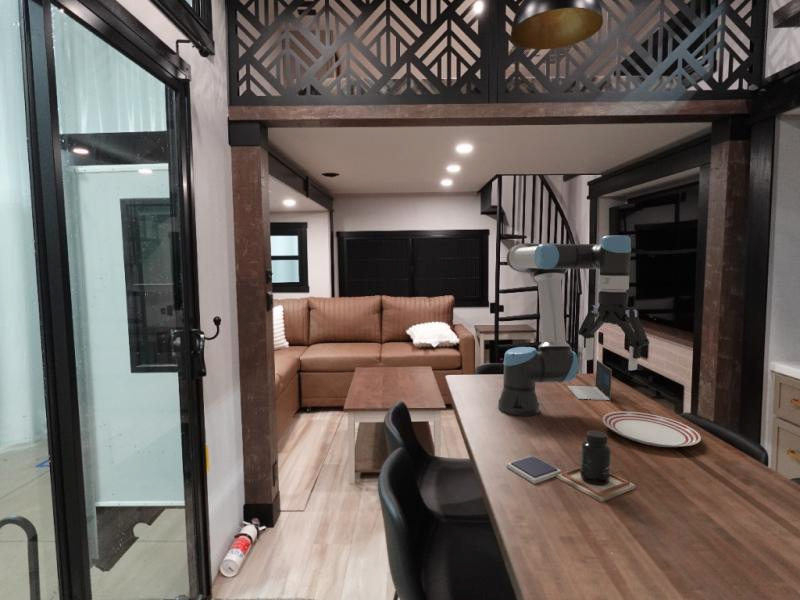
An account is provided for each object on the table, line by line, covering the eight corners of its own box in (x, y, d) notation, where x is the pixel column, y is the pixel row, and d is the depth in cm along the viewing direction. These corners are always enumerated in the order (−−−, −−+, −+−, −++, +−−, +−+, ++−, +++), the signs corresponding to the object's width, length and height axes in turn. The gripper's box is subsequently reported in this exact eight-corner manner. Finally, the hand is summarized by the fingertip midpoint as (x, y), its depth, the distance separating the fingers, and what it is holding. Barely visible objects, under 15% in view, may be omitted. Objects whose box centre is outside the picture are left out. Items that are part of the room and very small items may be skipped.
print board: (556, 477, 110) (556, 472, 110) (589, 465, 116) (589, 461, 116) (601, 502, 99) (601, 496, 98) (635, 488, 105) (635, 482, 105)
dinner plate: (684, 425, 146) (685, 416, 145) (714, 460, 120) (715, 449, 120) (597, 415, 155) (598, 407, 154) (608, 446, 129) (608, 436, 129)
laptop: (567, 387, 190) (568, 358, 189) (596, 388, 188) (597, 359, 187) (578, 400, 172) (579, 369, 171) (610, 401, 171) (612, 370, 169)
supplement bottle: (613, 487, 103) (615, 440, 102) (583, 484, 105) (585, 438, 104) (605, 474, 110) (607, 429, 109) (577, 471, 111) (579, 427, 110)
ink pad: (506, 467, 115) (506, 462, 115) (532, 458, 120) (533, 454, 120) (534, 483, 107) (534, 478, 107) (561, 474, 112) (561, 469, 111)
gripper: (567, 288, 128) (565, 357, 130) (649, 294, 106) (645, 376, 108) (584, 287, 132) (581, 354, 134) (666, 293, 110) (661, 372, 112)
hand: (609, 364), depth 121 cm, fingers open, 13 cm apart
